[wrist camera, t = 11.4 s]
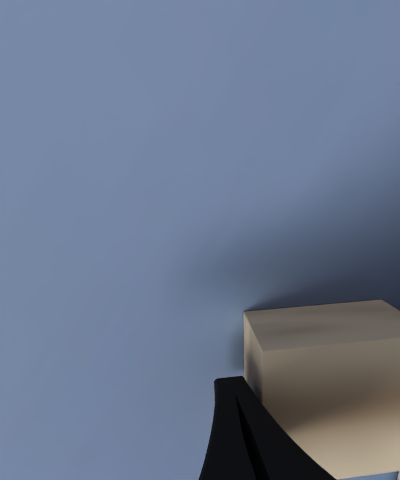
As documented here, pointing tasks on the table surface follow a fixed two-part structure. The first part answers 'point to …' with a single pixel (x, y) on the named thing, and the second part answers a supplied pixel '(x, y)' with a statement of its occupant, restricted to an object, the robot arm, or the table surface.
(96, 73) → the table surface
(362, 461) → the maple block
